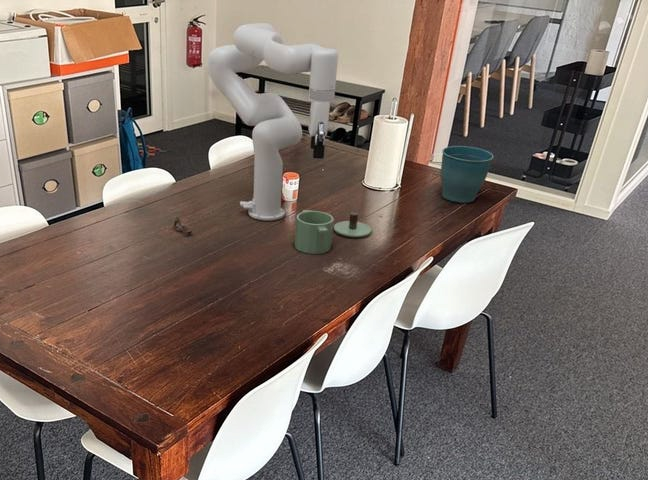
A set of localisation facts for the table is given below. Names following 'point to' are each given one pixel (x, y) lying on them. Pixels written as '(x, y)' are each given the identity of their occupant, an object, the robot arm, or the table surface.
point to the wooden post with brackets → (188, 232)
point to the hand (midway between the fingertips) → (316, 153)
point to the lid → (352, 227)
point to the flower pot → (463, 172)
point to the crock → (313, 232)
